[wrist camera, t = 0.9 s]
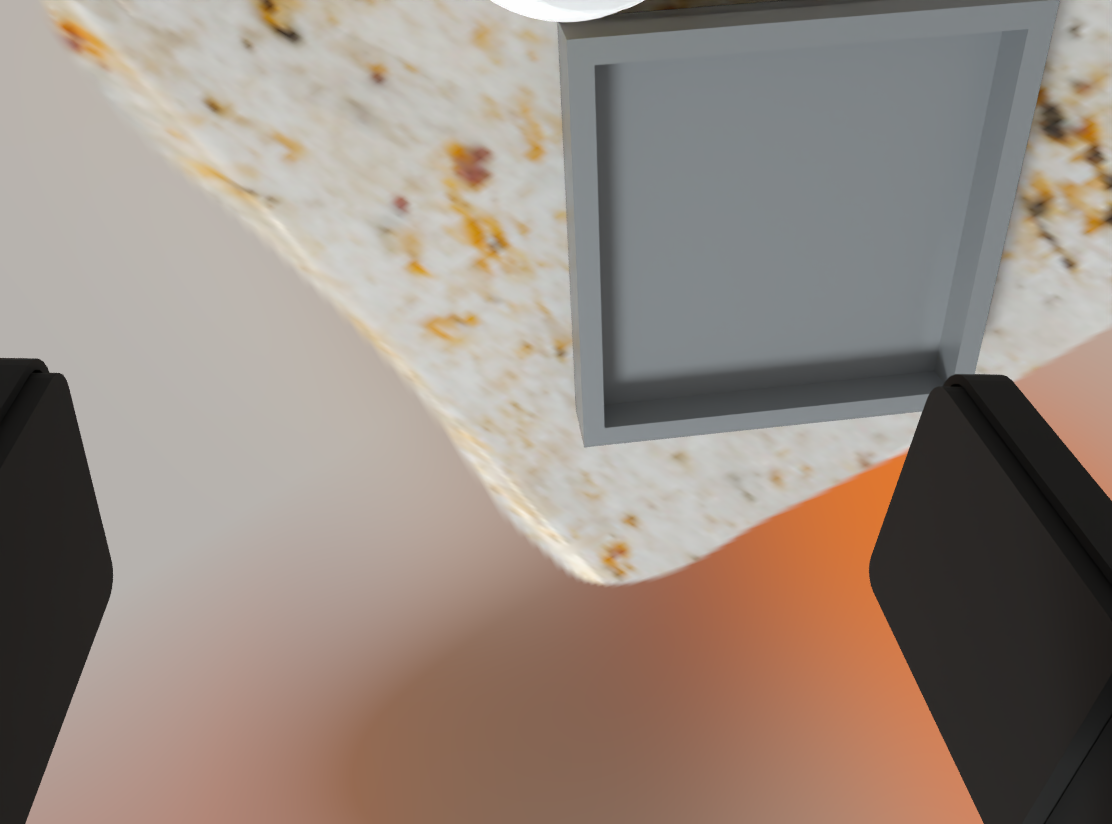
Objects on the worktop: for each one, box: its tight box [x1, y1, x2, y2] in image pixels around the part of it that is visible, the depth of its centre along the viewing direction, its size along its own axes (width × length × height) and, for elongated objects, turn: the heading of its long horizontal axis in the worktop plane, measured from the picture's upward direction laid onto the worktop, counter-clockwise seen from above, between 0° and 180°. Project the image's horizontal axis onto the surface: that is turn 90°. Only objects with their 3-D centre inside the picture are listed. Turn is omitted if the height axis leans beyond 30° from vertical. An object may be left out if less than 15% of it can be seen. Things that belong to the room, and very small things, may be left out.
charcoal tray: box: [557, 0, 1060, 447], centre depth 35 cm, size 15×15×2 cm
